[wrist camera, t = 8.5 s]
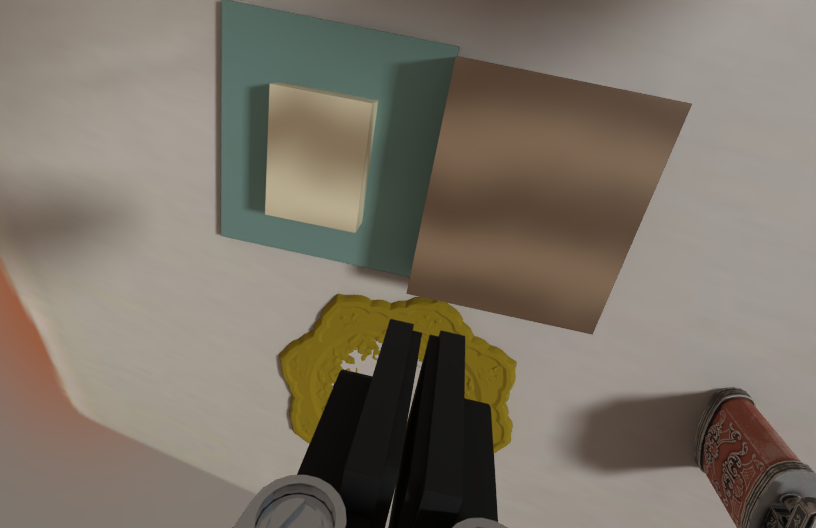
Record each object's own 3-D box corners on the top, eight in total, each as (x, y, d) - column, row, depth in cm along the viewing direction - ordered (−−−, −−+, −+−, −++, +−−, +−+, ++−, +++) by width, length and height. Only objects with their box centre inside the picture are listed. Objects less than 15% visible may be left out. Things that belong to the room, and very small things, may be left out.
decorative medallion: (523, 294, 33) (525, 304, 31) (508, 485, 41) (509, 499, 39) (267, 288, 35) (259, 297, 34) (300, 470, 43) (295, 482, 42)
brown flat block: (457, 56, 26) (455, 55, 23) (660, 97, 26) (692, 103, 22) (413, 267, 32) (406, 293, 29) (578, 303, 32) (592, 334, 28)
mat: (226, 0, 27) (221, -2, 26) (459, 47, 26) (458, 46, 26) (225, 233, 33) (221, 235, 32) (411, 273, 32) (410, 277, 32)
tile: (372, 103, 25) (378, 100, 27) (269, 83, 26) (282, 81, 27) (355, 233, 29) (361, 222, 31) (264, 214, 29) (276, 205, 31)
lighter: (731, 467, 36) (818, 602, 27) (686, 465, 37) (758, 597, 28) (758, 388, 33) (868, 511, 24) (709, 386, 34) (798, 506, 25)
